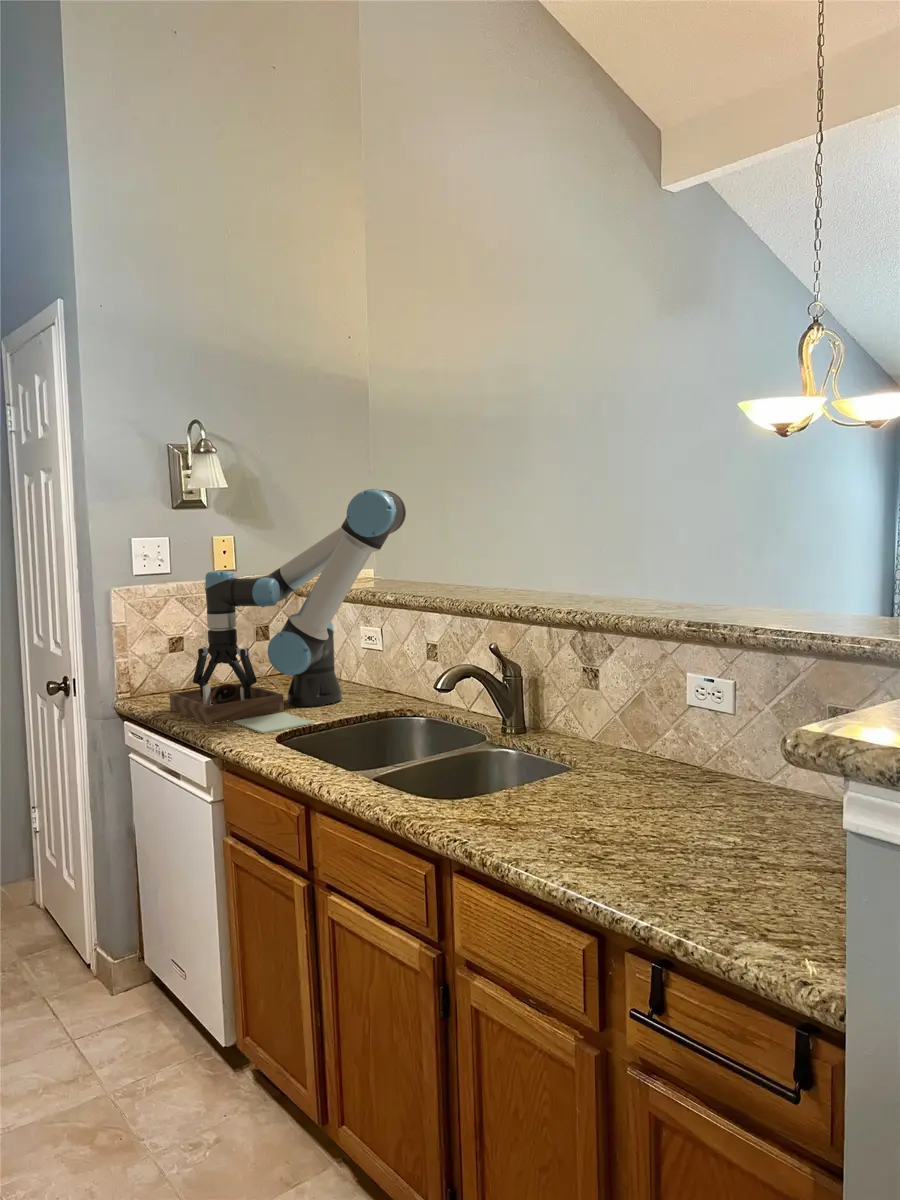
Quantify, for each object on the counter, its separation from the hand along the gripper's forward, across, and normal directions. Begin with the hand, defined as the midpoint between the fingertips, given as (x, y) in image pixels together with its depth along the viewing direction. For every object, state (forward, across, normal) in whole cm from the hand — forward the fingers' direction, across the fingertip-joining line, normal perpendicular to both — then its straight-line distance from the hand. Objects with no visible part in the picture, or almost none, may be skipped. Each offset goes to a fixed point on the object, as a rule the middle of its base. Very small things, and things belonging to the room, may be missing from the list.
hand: (226, 709), depth 243 cm
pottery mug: (+1, 0, -1) cm, 1 cm away
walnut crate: (0, 0, 0) cm, 0 cm away
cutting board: (0, -20, +12) cm, 23 cm away
